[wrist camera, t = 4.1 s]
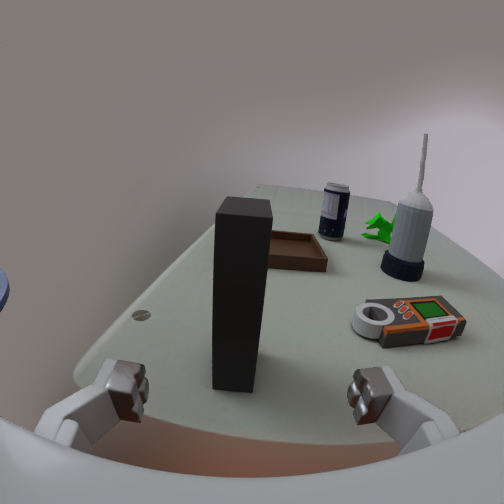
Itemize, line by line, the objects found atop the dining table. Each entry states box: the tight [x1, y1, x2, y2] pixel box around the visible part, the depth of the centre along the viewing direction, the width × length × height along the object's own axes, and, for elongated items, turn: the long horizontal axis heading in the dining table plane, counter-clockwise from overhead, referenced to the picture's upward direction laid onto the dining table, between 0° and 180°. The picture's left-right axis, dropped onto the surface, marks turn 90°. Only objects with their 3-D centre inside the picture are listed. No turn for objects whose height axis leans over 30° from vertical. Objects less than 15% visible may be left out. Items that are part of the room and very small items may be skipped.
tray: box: [268, 230, 328, 272], centre depth 50 cm, size 17×13×2 cm
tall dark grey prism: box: [212, 197, 273, 393], centre depth 21 cm, size 3×6×14 cm, turn 179°
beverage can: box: [318, 183, 350, 241], centre depth 61 cm, size 6×6×12 cm
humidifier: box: [381, 134, 433, 282], centre depth 42 cm, size 8×8×25 cm
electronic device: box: [352, 296, 466, 348], centre depth 29 cm, size 7×3×15 cm
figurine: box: [361, 213, 396, 244], centre depth 63 cm, size 6×12×9 cm, turn 69°
